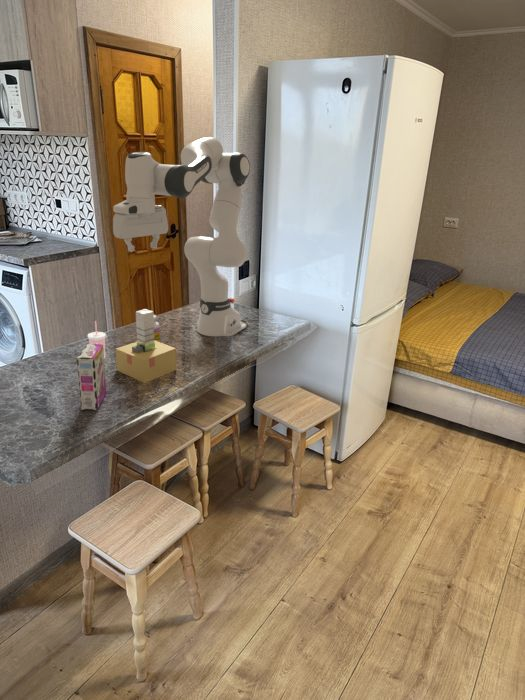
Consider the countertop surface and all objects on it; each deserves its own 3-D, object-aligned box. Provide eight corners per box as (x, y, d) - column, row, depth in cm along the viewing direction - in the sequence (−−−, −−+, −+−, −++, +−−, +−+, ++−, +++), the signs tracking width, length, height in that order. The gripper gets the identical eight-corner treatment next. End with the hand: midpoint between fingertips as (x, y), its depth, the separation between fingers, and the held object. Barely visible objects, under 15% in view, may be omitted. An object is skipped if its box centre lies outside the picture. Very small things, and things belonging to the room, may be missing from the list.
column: (147, 353, 166) (145, 308, 160) (155, 356, 164) (153, 311, 158) (137, 356, 163) (135, 311, 157) (145, 360, 161) (143, 314, 155)
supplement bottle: (155, 352, 180) (154, 319, 175) (139, 350, 181) (137, 317, 176) (162, 346, 186) (161, 314, 181) (146, 344, 187) (145, 312, 182)
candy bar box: (98, 411, 139) (94, 358, 132) (80, 410, 138) (75, 358, 132) (107, 393, 149) (103, 343, 143) (91, 392, 149) (86, 343, 142)
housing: (149, 358, 175) (148, 334, 171) (176, 369, 167) (176, 344, 163) (116, 370, 164) (114, 344, 160) (144, 383, 156) (143, 356, 153)
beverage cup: (96, 353, 176) (93, 317, 171) (111, 356, 175) (108, 319, 169) (85, 359, 171) (82, 322, 165) (100, 362, 169) (97, 325, 164)
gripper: (159, 204, 165) (160, 244, 170) (108, 206, 149) (111, 251, 155) (171, 205, 161) (172, 247, 166) (121, 209, 146) (124, 254, 151)
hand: (142, 249), depth 160 cm, fingers open, 8 cm apart
